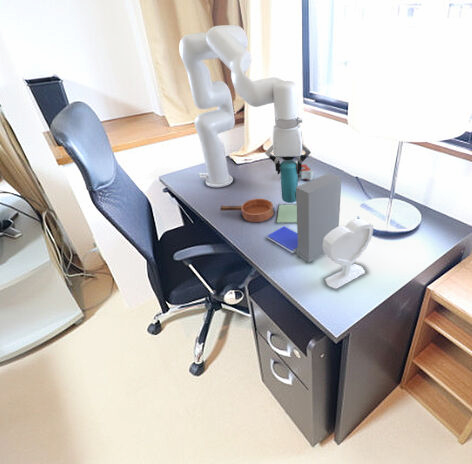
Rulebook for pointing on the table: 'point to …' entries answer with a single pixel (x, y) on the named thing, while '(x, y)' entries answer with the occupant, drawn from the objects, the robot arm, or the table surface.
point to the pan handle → (230, 207)
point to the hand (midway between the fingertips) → (288, 172)
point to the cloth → (287, 214)
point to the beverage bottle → (288, 179)
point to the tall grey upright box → (317, 213)
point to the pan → (257, 210)
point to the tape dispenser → (305, 172)
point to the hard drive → (285, 239)
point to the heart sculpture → (347, 250)
